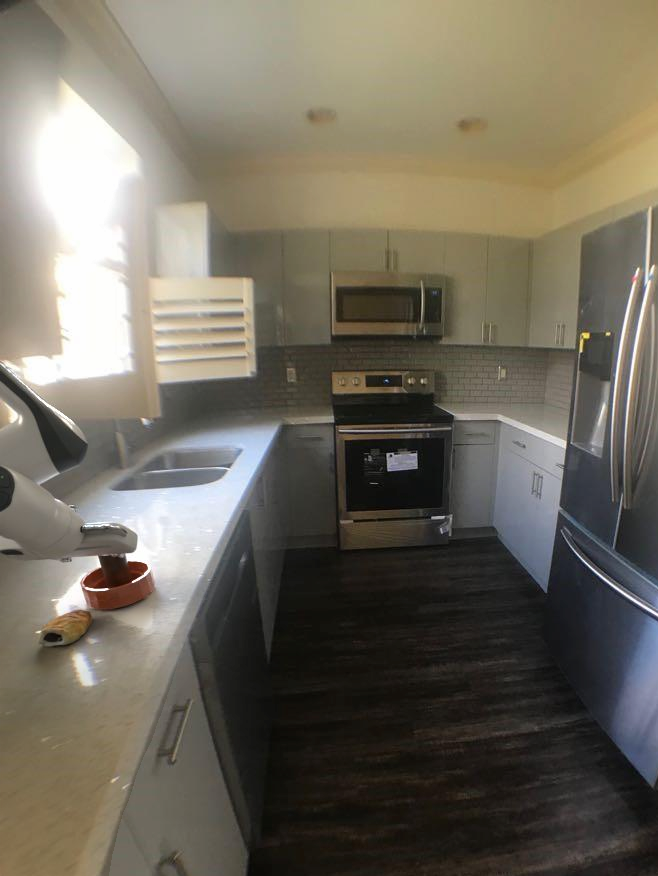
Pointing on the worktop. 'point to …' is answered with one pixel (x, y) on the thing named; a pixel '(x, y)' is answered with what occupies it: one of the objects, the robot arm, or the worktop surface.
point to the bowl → (121, 595)
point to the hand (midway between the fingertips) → (94, 556)
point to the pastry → (65, 628)
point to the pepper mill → (115, 570)
